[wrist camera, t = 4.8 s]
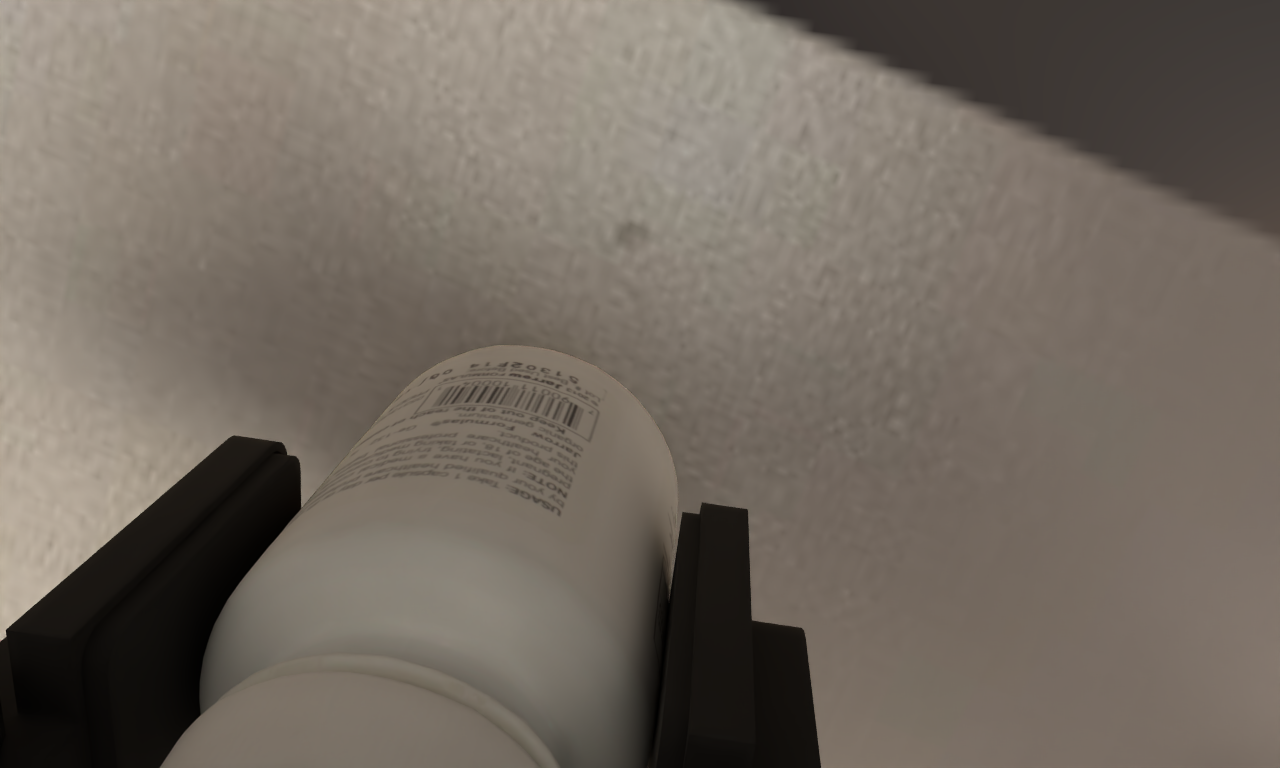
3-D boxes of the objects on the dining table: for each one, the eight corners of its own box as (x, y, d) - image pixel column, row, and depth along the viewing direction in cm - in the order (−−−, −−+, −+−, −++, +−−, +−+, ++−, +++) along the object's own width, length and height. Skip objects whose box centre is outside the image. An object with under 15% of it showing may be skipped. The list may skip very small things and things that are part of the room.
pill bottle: (316, 439, 14) (-113, 887, 7) (559, 277, 13) (346, 611, 6) (499, 658, 15) (292, 1239, 8) (739, 526, 14) (748, 1070, 7)
